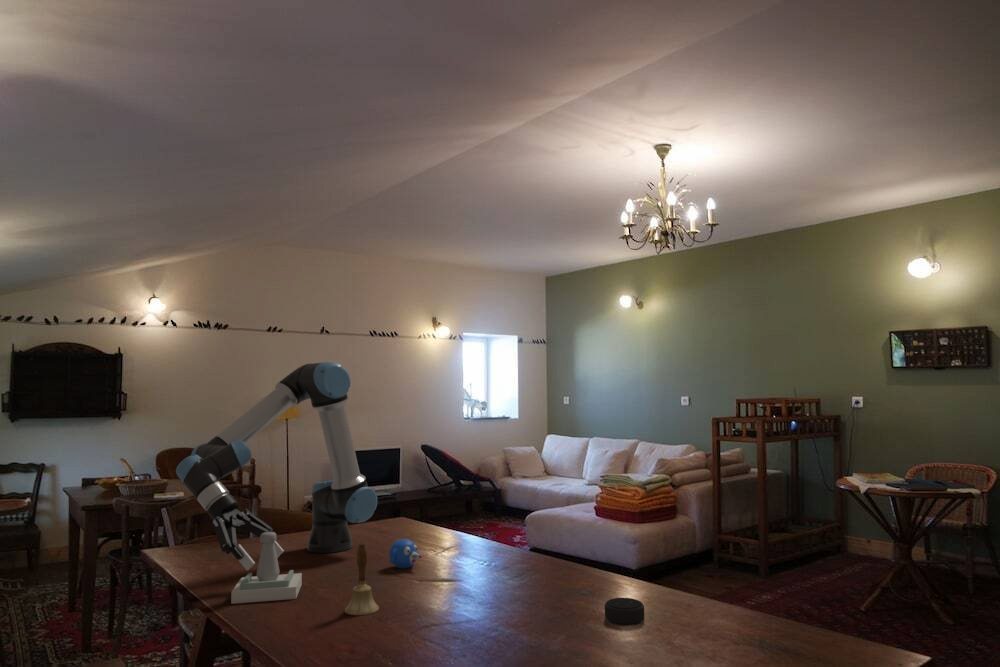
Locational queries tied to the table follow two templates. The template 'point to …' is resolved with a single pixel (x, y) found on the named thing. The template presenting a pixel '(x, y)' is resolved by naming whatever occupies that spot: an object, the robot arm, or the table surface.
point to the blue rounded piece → (404, 553)
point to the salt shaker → (268, 558)
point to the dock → (266, 588)
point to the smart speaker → (624, 611)
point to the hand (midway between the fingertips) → (266, 560)
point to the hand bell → (361, 589)
